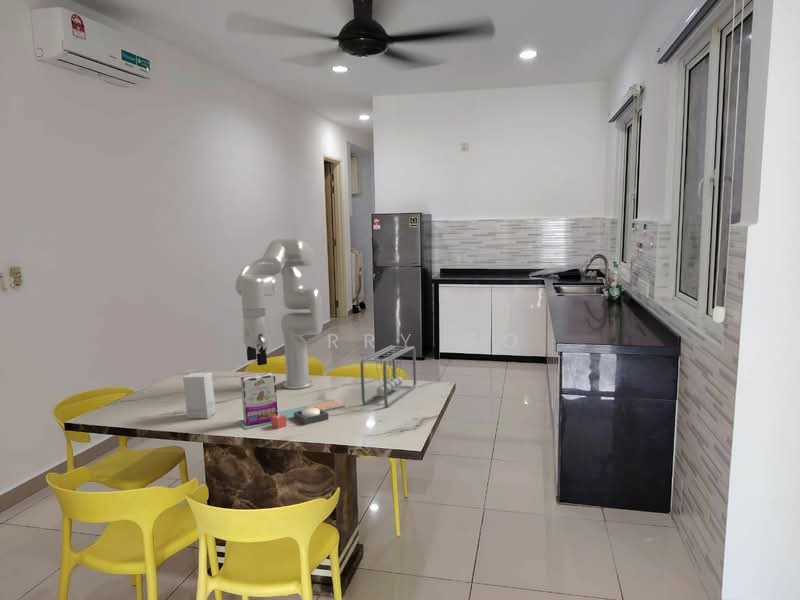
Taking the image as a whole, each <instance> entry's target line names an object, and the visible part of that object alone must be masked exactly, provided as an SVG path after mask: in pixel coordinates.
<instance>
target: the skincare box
mask: <svg viewBox="0 0 800 600" xmlns="http://www.w3.org/2000/svg"><path fill="white" fill-rule="evenodd" d="M182 380H183V390H184V398H185V399H184V400H185V405H186V406H185V407H186V415H187V417H186V418H187V419H209V418H210V417H212V416H214V415H215V414H216V413H217V412H216V409H217V408H216V401H215V392H214V383H213V381H214V380H213V373H212V372H191V373H189V374H187V375H185V376H183V377H182Z"/></svg>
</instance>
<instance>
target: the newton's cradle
mask: <svg viewBox="0 0 800 600" xmlns="http://www.w3.org/2000/svg"><path fill="white" fill-rule="evenodd" d="M397 348H401V349H400V350H399V349H397ZM402 348H403V349H402ZM397 350H398V351H397ZM409 351H410V352H411V351H412V366H413V367H412V370H413V372H412V375H413V385H412V386H409V385H408V386H407V385H402V384H403V381H404V379H403V378H402V377H401V376H400V375H398V374H397V373H400V370H401V368H399V371H398V372H397V371H396V370H397V368H398V365H396V363H398V361H399V359H398V358H399V357H400V358H401V359H400V360H402V357H403V355H404V354H406V353H408V352H409ZM389 352H391V353H389ZM385 354H387V357H386V355H385ZM416 355H417V353H416V348H415V346H414V345H412V346H399V345H398V346H397V345H393V344H391V345H388V346H387V347H385V348H382V349H380V350H378V351H376V352H374V353H372V354H369V355H368V356H365V357H364V358H362V359H361V361H360V383H361V384H360V388H361V389H360V390H361V403H362V404H363V405H367V404H368V405H369V404H370V405H377V406H378V405H379V406H385V407H387V408H389V407H390V406H392V405H393V404H394V403H396V402H397V401H399V400H400V399H402V398H403V397H404V396H406V395H407V394H409V393H410V392H411V391H413V390H414V389H415V388H416V386H417V360H416V359H417V358H416ZM381 356H383V359H382V360H381V359H379V358H381ZM376 358H378V360H377V359H376ZM396 359H397V360H396ZM366 361H367V362H380V365H381V367H382V368H381V370H382V376H383V377H382V378H383V379H382V381H383V383H382V385H381V383H379V384H380V385H379V386H378V387H377V389H376V394H375V395H373V396H371V397H370V398H368V399H367V400H366V395H365V394H366V393H365V391H366V390H365V374H364V367H365V366H364V363H365V362H366ZM391 362H392V363H391ZM382 363H383V365H382ZM388 363H389V365H388V367H387V364H388ZM399 363H400V365H399V366H401V365H402V362H399ZM375 364H376V367H378V364H377V363H375ZM391 367H392V368H391ZM388 368H390V370H387V369H388ZM376 370H377V372H379V370H378V368H376ZM390 371H391V377H390V376H389V375H390V374H389V372H390ZM377 375H378V377H380V375H379V373H377ZM378 380H379V382H381V380H380V378H378ZM397 387H402V388H408V389H406V390H404V391H403V392H402V393H401V394H399V395H398V396H397V397H395V398H394V399H392V400H391V401H389V402H388V393H390V392H391V391H393V390H394V389H396V388H397ZM378 397H383V401H384V403H375V402H372V401H373V400H375V399H377V398H378Z"/></svg>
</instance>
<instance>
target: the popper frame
mask: <svg viewBox="0 0 800 600" xmlns="http://www.w3.org/2000/svg"><path fill="white" fill-rule="evenodd" d="M315 408H317V407H315ZM318 409H319V408H318ZM294 419H295V420H297V421H298V422H300V423H301V424H303V425H304V426H306V425H311V424H315V423H319V422H322V421H327V420H329V413H328V411H323V410H321V409H320V414H319V415H315V416H311V417H304V416H302V411H297V412H294Z"/></svg>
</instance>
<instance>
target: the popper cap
mask: <svg viewBox="0 0 800 600" xmlns="http://www.w3.org/2000/svg"><path fill="white" fill-rule="evenodd" d="M319 414H320V409H318V408H307V409H304V410H302V416H304V417H311V416H315V415H319Z"/></svg>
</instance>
